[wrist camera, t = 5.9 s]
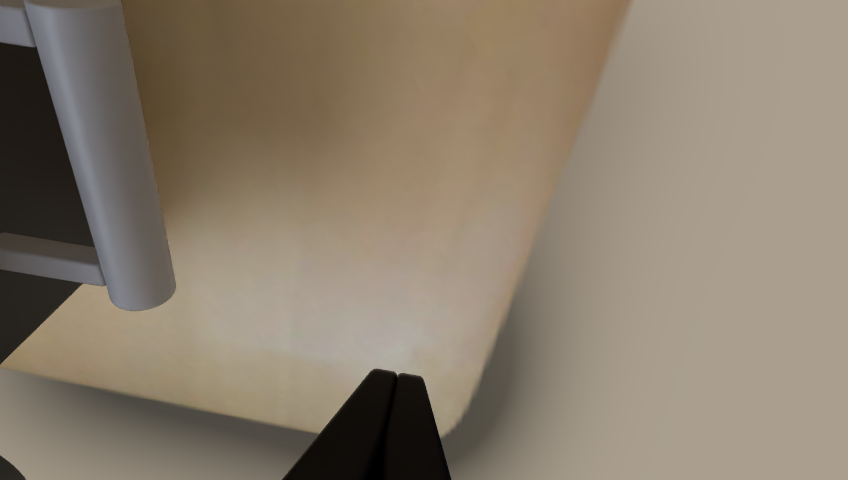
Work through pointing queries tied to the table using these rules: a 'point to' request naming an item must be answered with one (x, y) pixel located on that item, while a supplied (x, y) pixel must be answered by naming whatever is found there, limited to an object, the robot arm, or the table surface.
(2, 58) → the drawer
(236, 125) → the table surface
